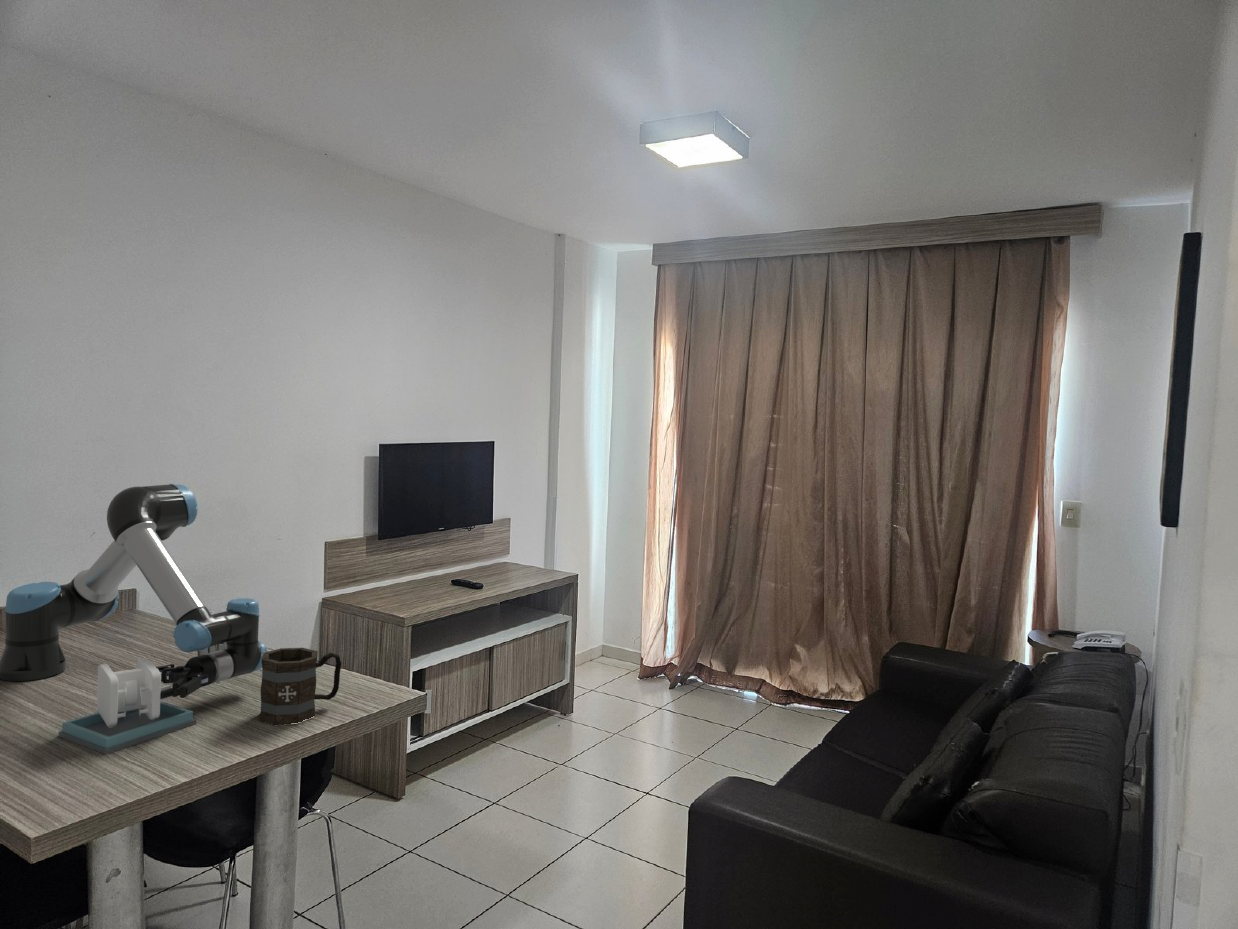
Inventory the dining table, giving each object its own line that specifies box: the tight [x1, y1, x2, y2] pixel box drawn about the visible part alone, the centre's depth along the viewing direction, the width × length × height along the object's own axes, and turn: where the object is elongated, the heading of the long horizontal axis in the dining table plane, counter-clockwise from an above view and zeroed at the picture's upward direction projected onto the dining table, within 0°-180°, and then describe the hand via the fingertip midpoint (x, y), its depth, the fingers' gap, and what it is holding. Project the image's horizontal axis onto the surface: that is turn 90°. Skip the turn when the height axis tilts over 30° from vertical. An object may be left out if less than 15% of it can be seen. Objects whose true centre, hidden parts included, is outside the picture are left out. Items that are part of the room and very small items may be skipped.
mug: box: [258, 647, 342, 726], centre depth 201 cm, size 20×14×15 cm
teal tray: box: [58, 700, 197, 755], centre depth 185 cm, size 17×21×3 cm
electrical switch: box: [197, 642, 227, 656], centre depth 233 cm, size 9×5×9 cm, turn 141°
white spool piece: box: [96, 657, 162, 728], centre depth 184 cm, size 15×11×12 cm
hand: (122, 692), depth 183 cm, fingers open, 13 cm apart
